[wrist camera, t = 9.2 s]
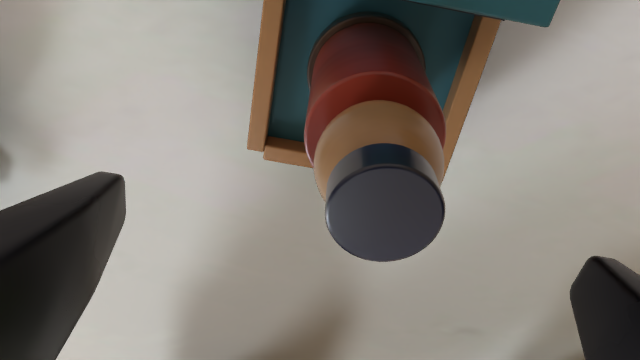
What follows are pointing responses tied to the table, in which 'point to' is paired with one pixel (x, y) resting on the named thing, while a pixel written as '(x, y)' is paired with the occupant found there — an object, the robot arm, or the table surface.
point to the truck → (414, 12)
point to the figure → (375, 137)
